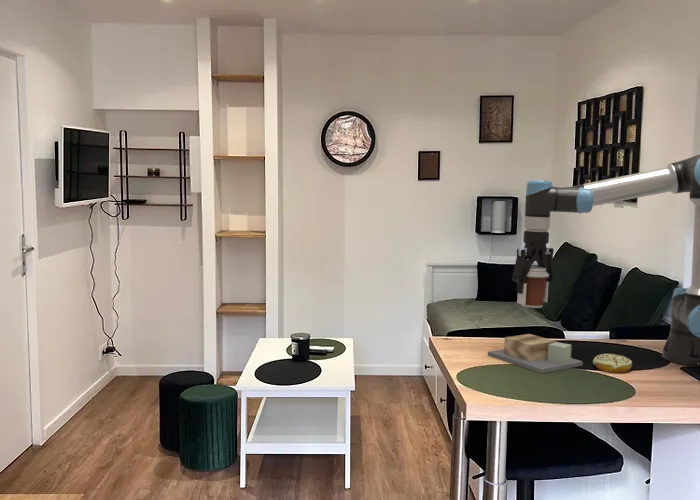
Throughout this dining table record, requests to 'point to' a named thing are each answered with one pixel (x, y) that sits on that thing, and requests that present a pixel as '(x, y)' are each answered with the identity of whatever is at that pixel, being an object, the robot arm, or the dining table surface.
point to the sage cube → (559, 352)
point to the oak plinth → (527, 347)
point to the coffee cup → (535, 287)
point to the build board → (534, 362)
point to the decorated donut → (612, 363)
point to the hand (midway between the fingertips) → (532, 302)
